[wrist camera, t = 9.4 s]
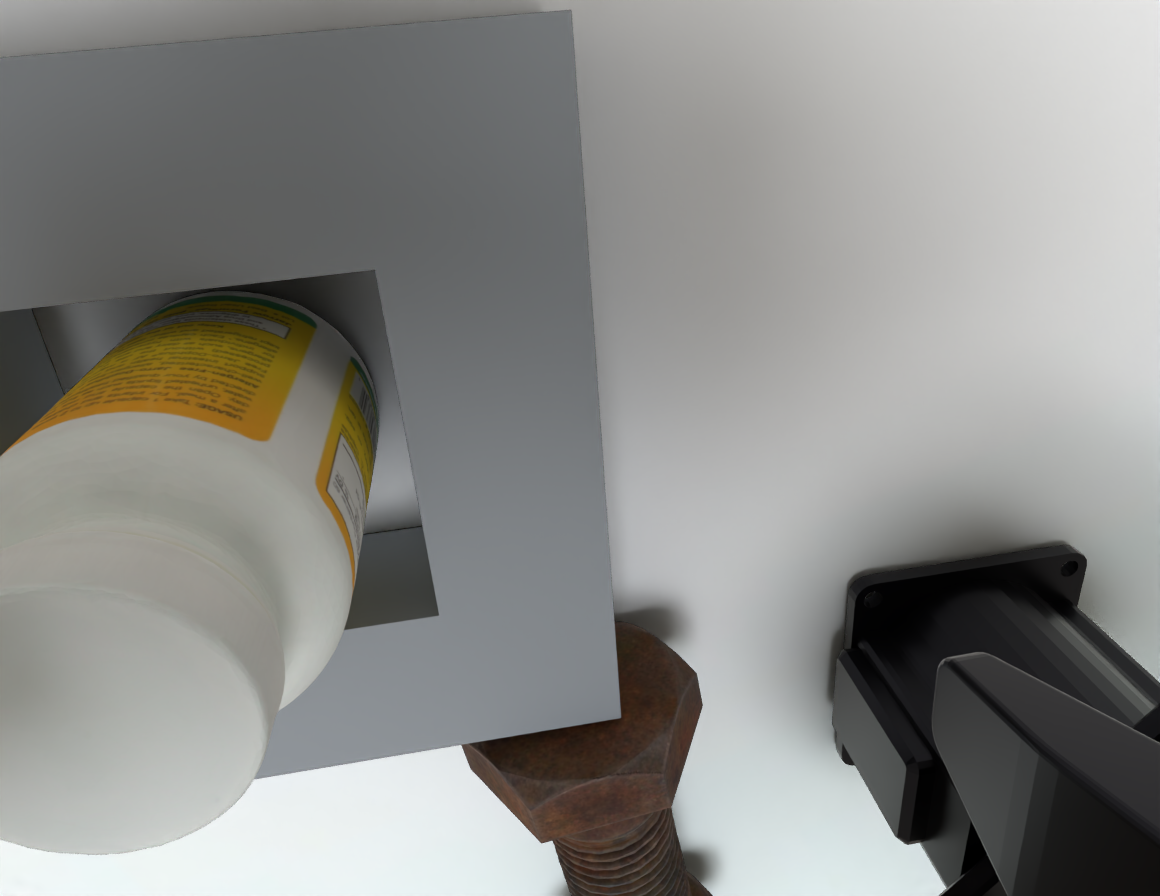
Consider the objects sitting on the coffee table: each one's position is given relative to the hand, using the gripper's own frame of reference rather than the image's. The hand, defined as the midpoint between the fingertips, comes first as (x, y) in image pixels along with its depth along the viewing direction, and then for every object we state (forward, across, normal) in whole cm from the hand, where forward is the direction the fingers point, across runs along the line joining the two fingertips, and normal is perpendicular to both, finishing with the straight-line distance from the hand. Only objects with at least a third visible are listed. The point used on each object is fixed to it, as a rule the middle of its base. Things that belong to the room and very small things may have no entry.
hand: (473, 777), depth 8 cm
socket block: (+12, +5, +1) cm, 13 cm away
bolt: (+12, -2, +15) cm, 20 cm away
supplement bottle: (+12, +4, 0) cm, 13 cm away
